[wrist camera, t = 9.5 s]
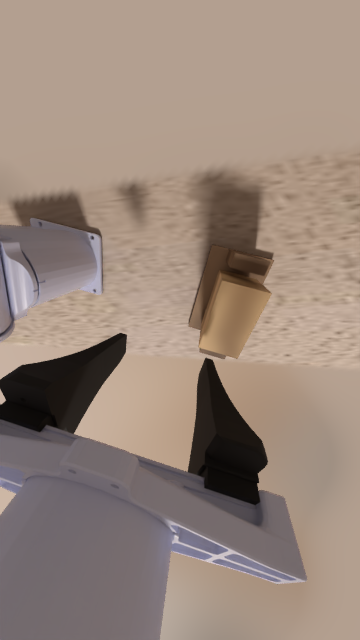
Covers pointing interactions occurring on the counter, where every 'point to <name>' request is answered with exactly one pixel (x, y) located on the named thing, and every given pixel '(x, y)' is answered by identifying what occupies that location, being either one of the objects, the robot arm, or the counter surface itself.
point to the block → (232, 313)
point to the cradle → (230, 263)
